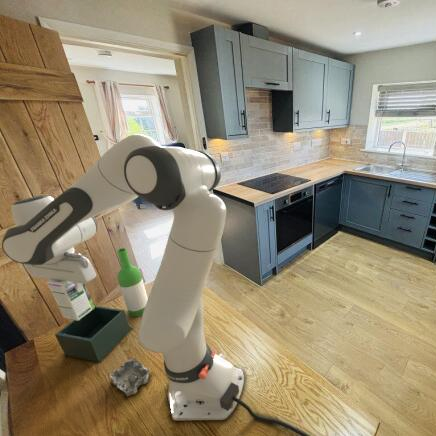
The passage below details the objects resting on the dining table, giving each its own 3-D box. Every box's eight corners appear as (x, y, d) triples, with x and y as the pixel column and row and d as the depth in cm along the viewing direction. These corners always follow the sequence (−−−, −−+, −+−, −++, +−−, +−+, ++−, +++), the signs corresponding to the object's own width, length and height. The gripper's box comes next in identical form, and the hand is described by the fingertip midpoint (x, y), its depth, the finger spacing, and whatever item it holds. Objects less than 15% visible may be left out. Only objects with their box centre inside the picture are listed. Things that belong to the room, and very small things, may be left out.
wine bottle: (139, 302, 105) (121, 243, 93) (154, 305, 104) (138, 246, 92) (124, 315, 98) (103, 253, 86) (140, 319, 97) (121, 256, 85)
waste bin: (130, 329, 92) (124, 310, 88) (99, 362, 80) (90, 341, 76) (100, 324, 94) (93, 305, 90) (65, 355, 82) (54, 334, 78)
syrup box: (78, 321, 74) (61, 283, 69) (63, 318, 75) (45, 281, 70) (95, 308, 79) (81, 272, 74) (81, 305, 80) (66, 269, 75)
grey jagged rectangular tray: (109, 381, 74) (105, 373, 73) (134, 362, 80) (131, 353, 79) (128, 400, 69) (124, 392, 68) (153, 378, 75) (150, 369, 74)
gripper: (94, 249, 69) (107, 287, 75) (36, 242, 72) (53, 279, 78) (72, 260, 64) (88, 300, 69) (10, 252, 67) (30, 291, 72)
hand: (69, 289), depth 74 cm, fingers closed on syrup box, 6 cm apart
